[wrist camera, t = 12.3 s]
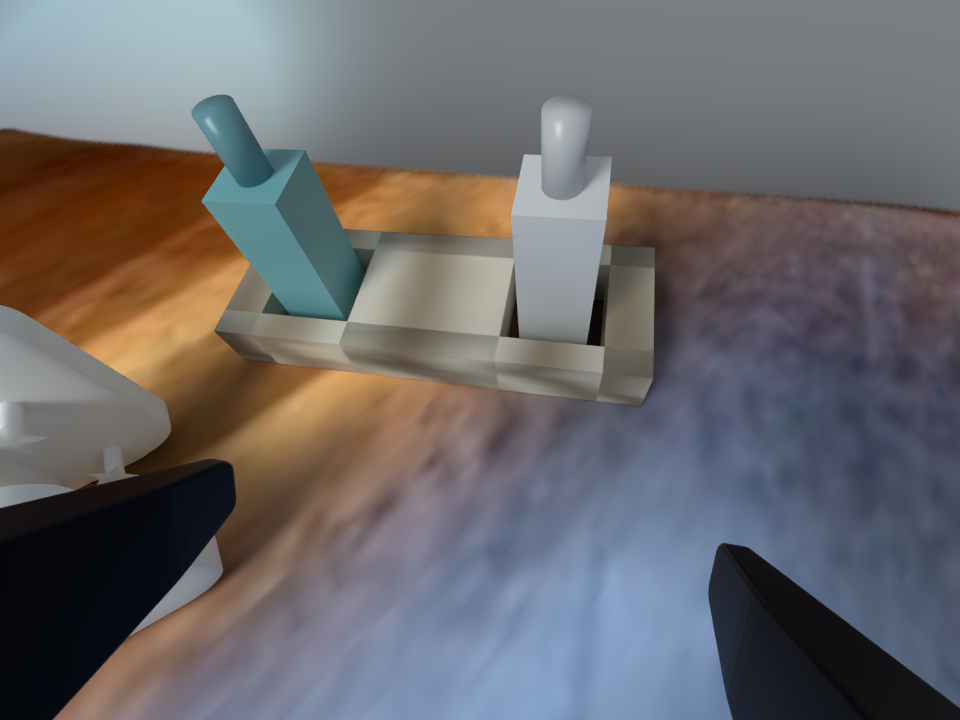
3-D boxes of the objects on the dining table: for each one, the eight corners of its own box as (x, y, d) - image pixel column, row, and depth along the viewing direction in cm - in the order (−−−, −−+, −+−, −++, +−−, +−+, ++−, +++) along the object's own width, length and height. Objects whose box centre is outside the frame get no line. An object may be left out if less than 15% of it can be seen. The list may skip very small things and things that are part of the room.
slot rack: (643, 284, 27) (654, 247, 25) (641, 406, 24) (653, 378, 21) (293, 258, 31) (271, 224, 29) (244, 359, 28) (213, 330, 25)
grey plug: (583, 361, 25) (618, 144, 14) (520, 354, 26) (506, 141, 15) (588, 310, 27) (623, 78, 16) (529, 304, 28) (521, 78, 16)
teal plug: (374, 292, 29) (271, 81, 18) (357, 338, 28) (233, 137, 16) (323, 288, 30) (194, 81, 19) (304, 332, 28) (150, 135, 17)
